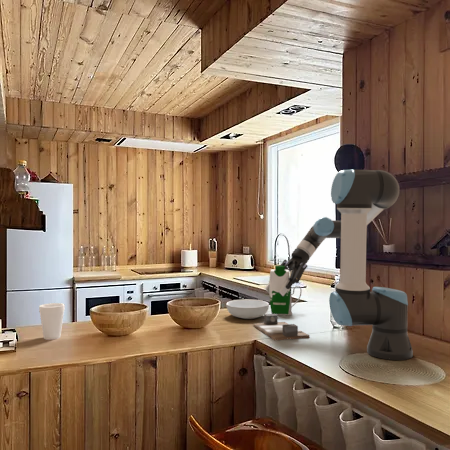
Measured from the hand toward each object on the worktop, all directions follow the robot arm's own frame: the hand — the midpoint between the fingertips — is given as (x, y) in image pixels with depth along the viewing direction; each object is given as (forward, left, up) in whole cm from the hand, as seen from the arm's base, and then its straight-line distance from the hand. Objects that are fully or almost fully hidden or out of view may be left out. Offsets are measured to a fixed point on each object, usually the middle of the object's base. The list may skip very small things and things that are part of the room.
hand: (273, 292), depth 190 cm
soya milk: (+1, -3, -9) cm, 10 cm away
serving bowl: (+31, +1, -17) cm, 36 cm away
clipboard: (0, -3, -17) cm, 17 cm away
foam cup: (+15, +89, -17) cm, 92 cm away
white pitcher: (+34, -22, -17) cm, 44 cm away
